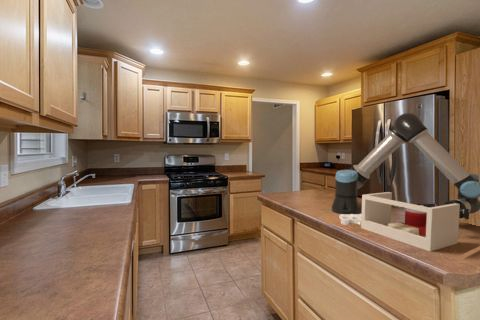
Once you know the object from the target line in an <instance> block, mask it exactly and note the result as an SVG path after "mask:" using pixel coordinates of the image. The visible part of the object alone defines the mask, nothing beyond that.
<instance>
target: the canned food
mask: <svg viewBox="0 0 480 320" xmlns="http://www.w3.org/2000/svg"><path fill="white" fill-rule="evenodd" d="M404 213H405V214H404V224H405V225H408V226H412V227H415V228H419V236H422V237H426V221H427V212H422V211H417V210H413V209H408V208H405V212H404Z"/></svg>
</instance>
